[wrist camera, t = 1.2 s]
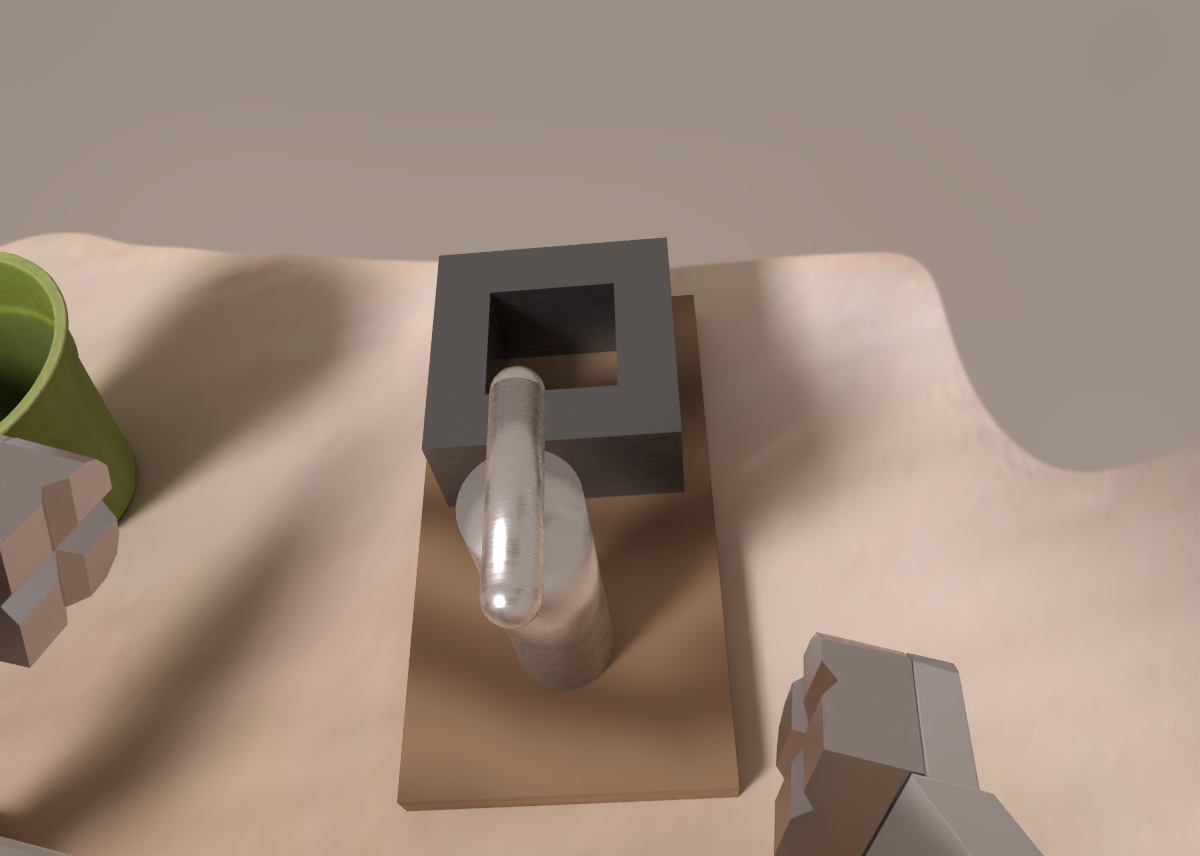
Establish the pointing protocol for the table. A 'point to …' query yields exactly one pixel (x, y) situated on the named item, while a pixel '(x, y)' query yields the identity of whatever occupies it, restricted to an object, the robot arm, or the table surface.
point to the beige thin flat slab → (636, 670)
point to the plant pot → (53, 379)
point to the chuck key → (535, 542)
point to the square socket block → (550, 328)
